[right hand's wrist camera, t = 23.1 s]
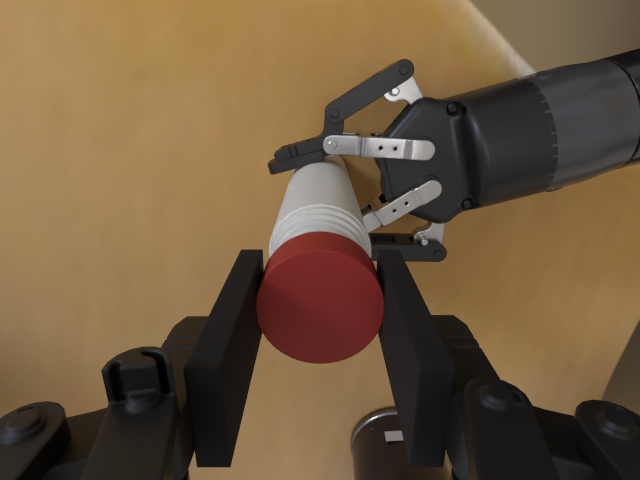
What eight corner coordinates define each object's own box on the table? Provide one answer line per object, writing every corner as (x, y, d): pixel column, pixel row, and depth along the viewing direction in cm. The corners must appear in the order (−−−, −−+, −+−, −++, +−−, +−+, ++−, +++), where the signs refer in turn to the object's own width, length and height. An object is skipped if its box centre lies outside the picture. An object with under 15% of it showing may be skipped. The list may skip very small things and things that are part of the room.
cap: (371, 222, 14) (377, 241, 12) (382, 325, 15) (391, 355, 14) (251, 240, 14) (242, 260, 12) (274, 340, 16) (269, 371, 14)
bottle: (327, 135, 33) (339, 212, 13) (356, 180, 34) (409, 315, 14) (283, 166, 34) (227, 283, 13) (313, 208, 35) (303, 374, 15)
